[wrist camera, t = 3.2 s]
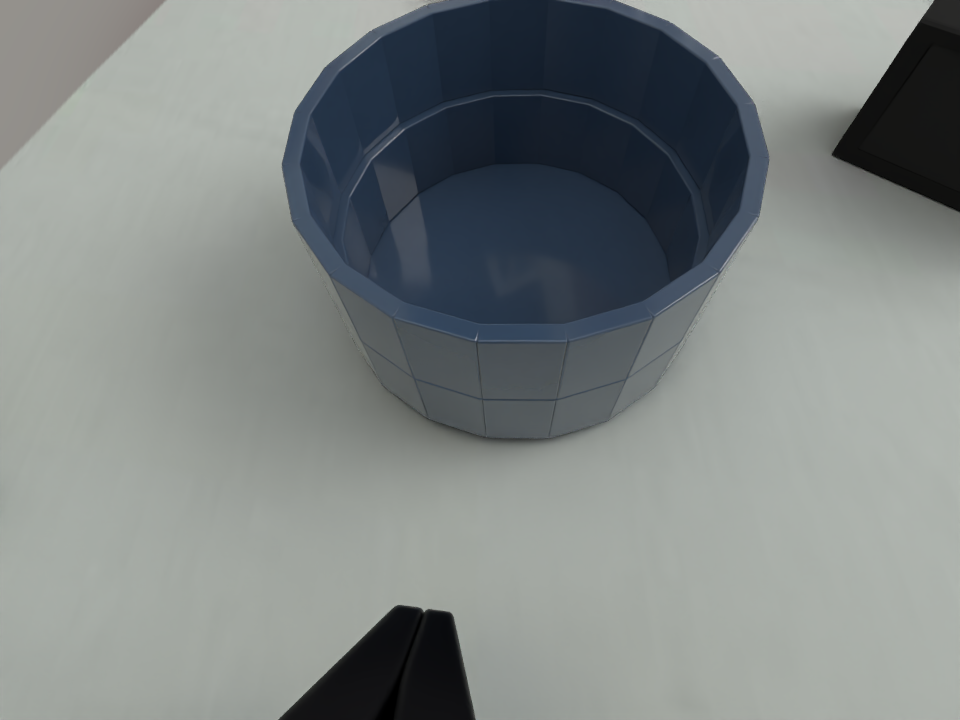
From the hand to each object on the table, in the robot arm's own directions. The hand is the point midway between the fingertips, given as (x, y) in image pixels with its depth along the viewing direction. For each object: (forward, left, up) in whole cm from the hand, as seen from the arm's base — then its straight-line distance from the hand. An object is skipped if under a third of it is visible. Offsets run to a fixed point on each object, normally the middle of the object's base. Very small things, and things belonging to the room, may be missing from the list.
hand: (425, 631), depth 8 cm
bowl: (+11, -10, -13) cm, 19 cm away
